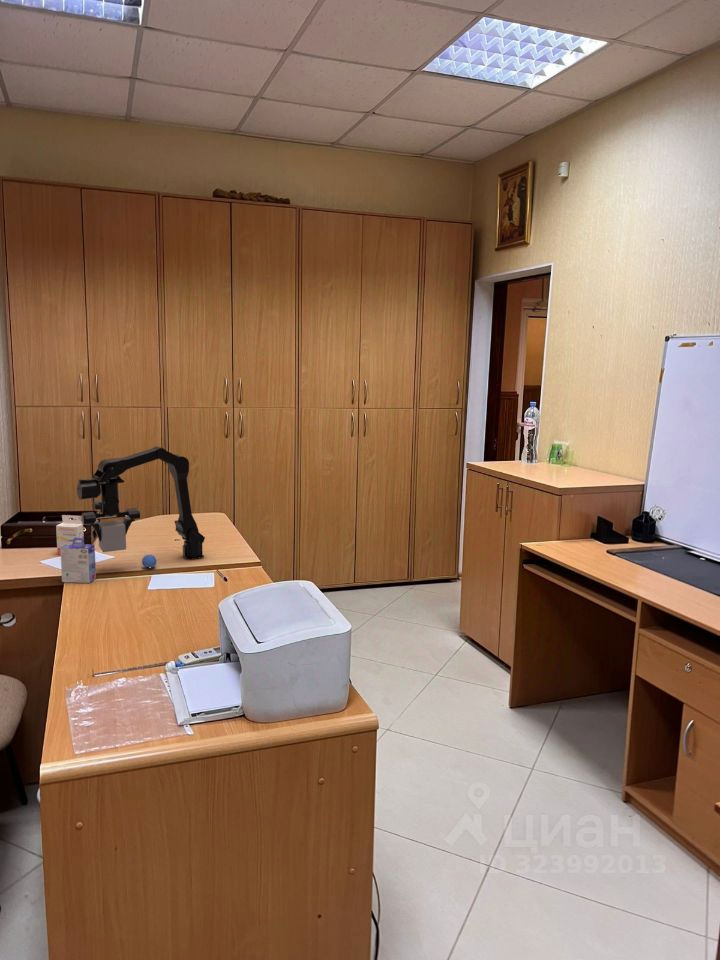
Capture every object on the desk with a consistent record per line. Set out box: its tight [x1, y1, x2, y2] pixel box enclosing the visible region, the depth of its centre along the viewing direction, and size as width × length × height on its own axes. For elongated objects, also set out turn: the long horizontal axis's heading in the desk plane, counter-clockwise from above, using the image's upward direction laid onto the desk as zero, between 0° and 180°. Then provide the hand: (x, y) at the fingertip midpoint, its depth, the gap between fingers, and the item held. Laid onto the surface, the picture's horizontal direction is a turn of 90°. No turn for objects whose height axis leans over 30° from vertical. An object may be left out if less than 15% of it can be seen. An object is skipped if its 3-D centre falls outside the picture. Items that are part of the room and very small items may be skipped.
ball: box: [141, 554, 158, 568], centre depth 245 cm, size 5×5×5 cm
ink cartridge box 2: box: [60, 537, 97, 584], centre depth 230 cm, size 10×6×14 cm, turn 89°
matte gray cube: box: [97, 519, 127, 553], centre depth 238 cm, size 8×8×9 cm
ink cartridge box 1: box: [55, 514, 85, 556], centre depth 258 cm, size 9×5×15 cm, turn 84°
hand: (112, 539), depth 239 cm, fingers closed on matte gray cube, 8 cm apart
